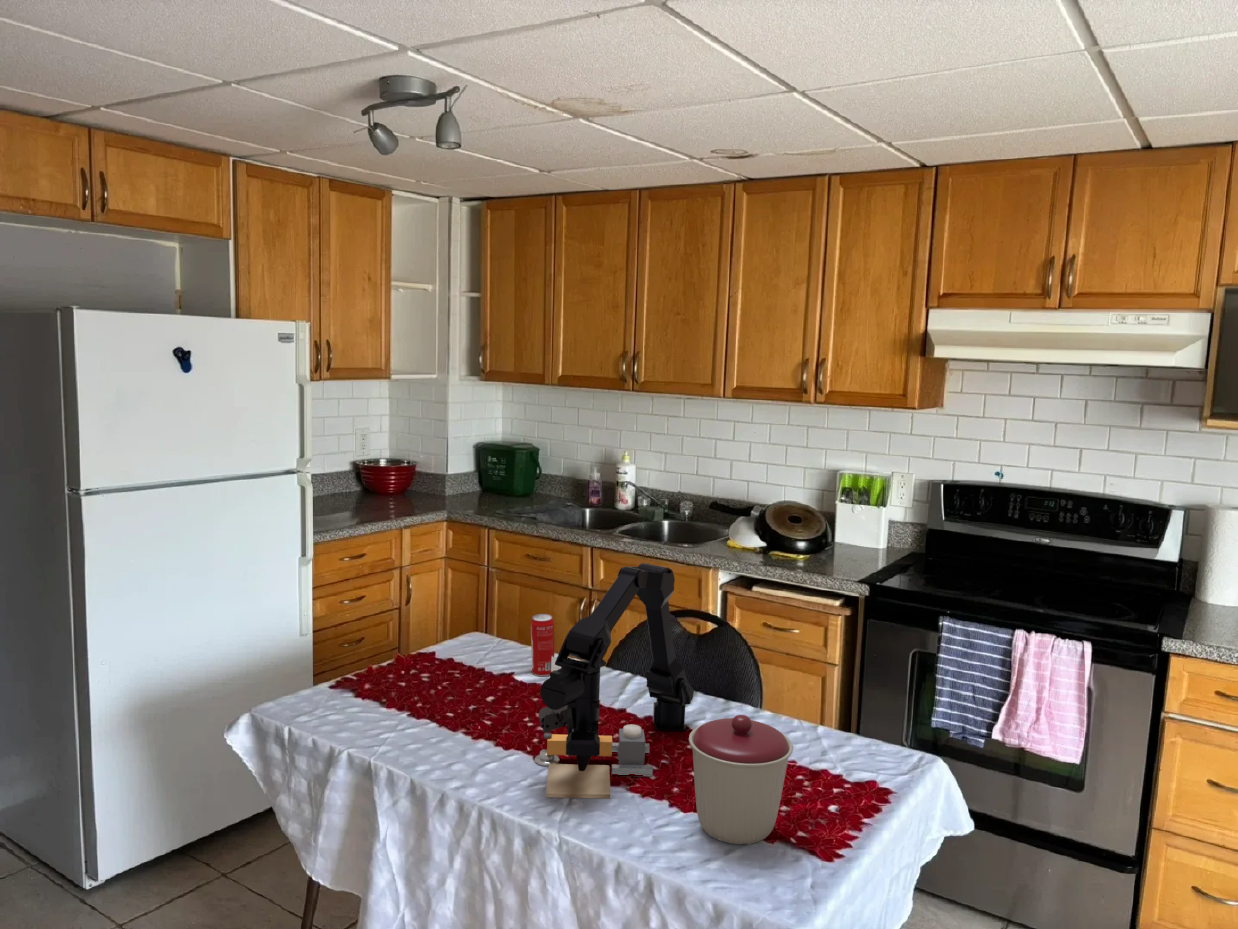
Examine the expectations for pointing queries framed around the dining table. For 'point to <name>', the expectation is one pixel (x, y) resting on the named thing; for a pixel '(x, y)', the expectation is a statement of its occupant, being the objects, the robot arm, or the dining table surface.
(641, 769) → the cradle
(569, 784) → the board
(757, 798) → the canister
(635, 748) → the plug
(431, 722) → the dining table surface
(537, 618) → the beverage can
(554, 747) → the latch
